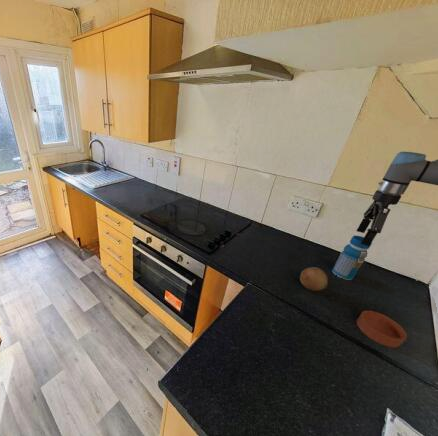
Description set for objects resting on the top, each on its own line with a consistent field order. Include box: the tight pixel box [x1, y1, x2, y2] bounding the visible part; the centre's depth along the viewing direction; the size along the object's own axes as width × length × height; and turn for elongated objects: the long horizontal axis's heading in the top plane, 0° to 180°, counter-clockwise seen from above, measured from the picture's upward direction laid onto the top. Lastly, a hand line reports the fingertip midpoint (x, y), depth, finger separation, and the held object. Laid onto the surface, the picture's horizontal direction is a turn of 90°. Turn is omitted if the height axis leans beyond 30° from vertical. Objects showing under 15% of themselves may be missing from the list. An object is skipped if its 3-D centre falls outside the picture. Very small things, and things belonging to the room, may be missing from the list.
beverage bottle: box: [331, 235, 373, 281], centre depth 103 cm, size 8×8×20 cm
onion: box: [299, 266, 329, 292], centre depth 96 cm, size 10×10×10 cm
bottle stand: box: [356, 310, 408, 348], centre depth 79 cm, size 12×12×4 cm
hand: (362, 238), depth 99 cm, fingers open, 13 cm apart
